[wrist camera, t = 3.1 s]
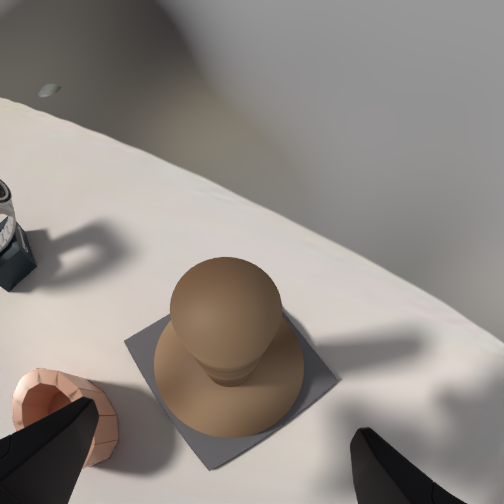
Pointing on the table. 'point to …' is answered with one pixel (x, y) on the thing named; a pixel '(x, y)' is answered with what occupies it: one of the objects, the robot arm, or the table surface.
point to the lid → (228, 351)
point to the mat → (219, 448)
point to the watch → (12, 245)
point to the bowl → (57, 396)
